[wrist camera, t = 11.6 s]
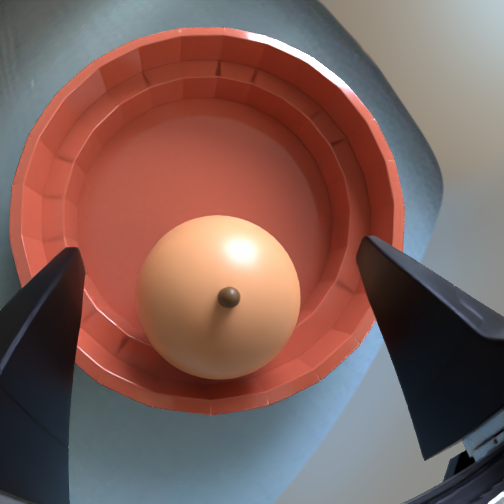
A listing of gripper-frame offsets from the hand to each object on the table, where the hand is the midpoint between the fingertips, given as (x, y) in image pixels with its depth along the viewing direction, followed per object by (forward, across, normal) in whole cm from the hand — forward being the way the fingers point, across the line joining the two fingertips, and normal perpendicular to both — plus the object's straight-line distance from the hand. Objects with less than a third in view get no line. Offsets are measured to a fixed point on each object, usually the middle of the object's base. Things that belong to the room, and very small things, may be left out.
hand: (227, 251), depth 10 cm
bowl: (+8, 0, +3) cm, 8 cm away
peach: (+4, 0, +6) cm, 7 cm away
